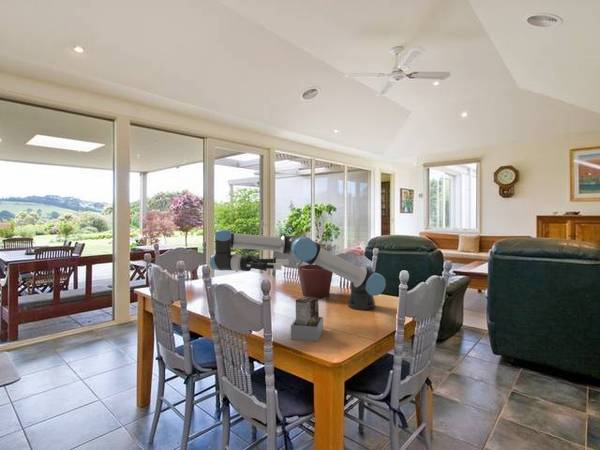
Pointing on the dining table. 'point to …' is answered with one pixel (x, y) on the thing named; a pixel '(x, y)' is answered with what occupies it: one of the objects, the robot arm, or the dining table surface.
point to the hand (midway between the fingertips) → (285, 264)
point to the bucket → (314, 280)
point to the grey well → (307, 331)
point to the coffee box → (307, 311)
